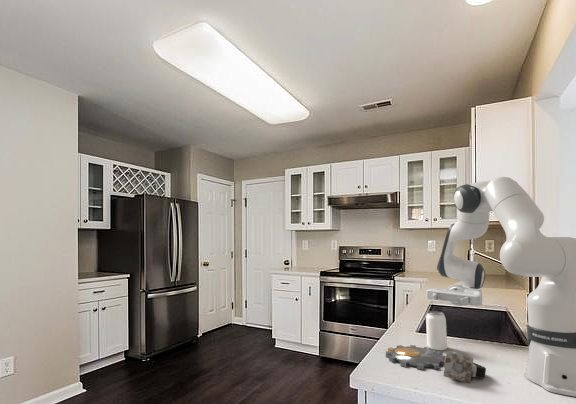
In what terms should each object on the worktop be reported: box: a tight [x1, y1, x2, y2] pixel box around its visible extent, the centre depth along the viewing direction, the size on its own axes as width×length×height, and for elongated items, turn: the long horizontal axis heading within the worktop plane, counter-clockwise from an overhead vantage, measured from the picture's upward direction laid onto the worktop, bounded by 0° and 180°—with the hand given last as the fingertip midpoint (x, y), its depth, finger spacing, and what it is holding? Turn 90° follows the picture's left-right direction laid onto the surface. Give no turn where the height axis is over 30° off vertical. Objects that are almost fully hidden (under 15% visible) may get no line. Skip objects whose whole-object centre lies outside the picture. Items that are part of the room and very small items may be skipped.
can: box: [425, 310, 448, 352], centre depth 122 cm, size 6×6×12 cm
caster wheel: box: [443, 351, 487, 384], centre depth 98 cm, size 7×11×10 cm
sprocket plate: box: [385, 344, 446, 371], centre depth 112 cm, size 19×19×1 cm
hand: (446, 299), depth 132 cm, fingers open, 8 cm apart
